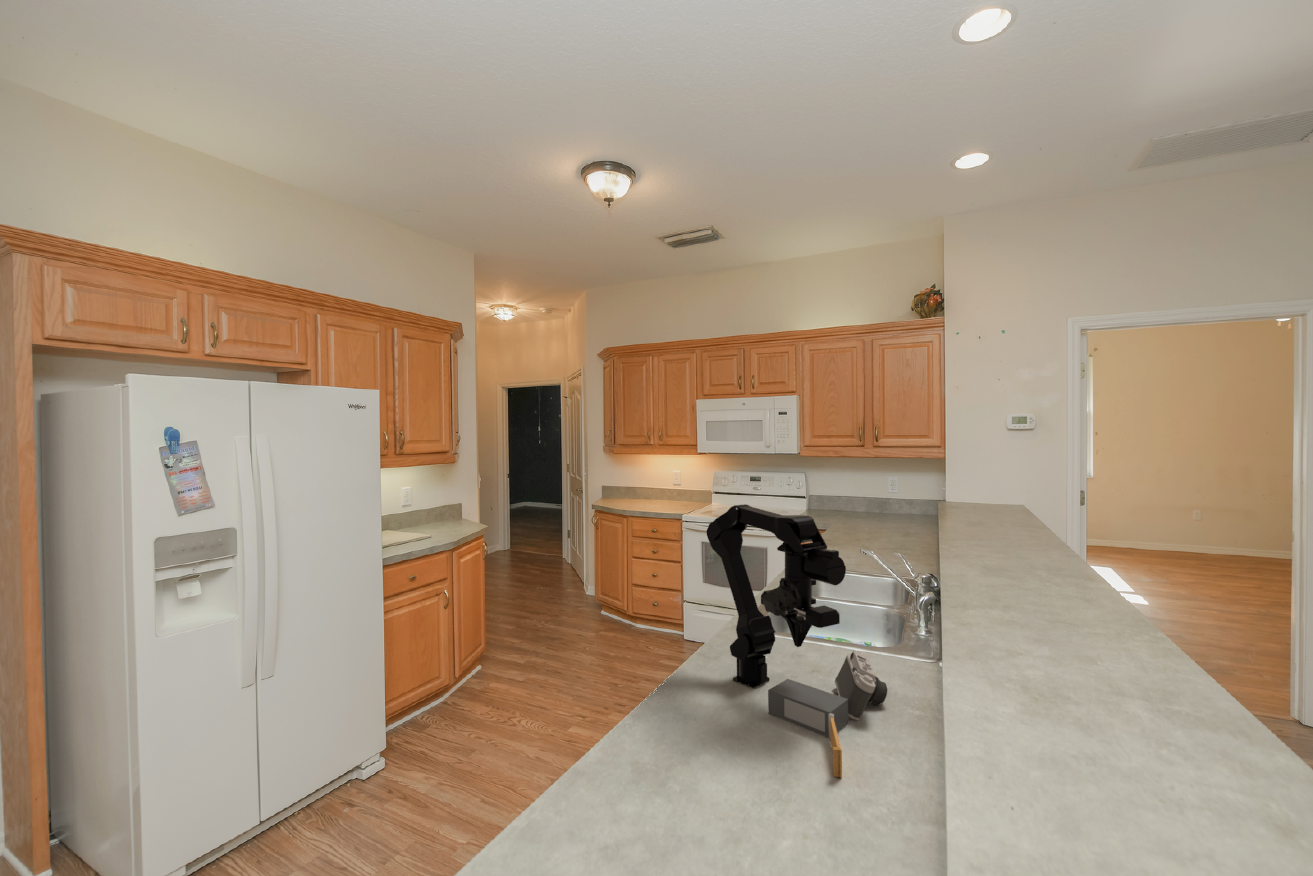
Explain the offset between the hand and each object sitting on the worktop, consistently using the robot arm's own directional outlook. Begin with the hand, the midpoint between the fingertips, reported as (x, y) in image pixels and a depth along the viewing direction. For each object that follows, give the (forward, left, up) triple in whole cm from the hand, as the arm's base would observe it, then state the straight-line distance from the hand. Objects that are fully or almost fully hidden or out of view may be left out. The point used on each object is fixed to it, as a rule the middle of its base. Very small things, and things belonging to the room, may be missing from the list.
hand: (797, 646), depth 122 cm
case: (+4, -4, -13) cm, 14 cm away
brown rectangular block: (+15, -14, -13) cm, 24 cm away
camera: (+10, +10, -13) cm, 19 cm away
